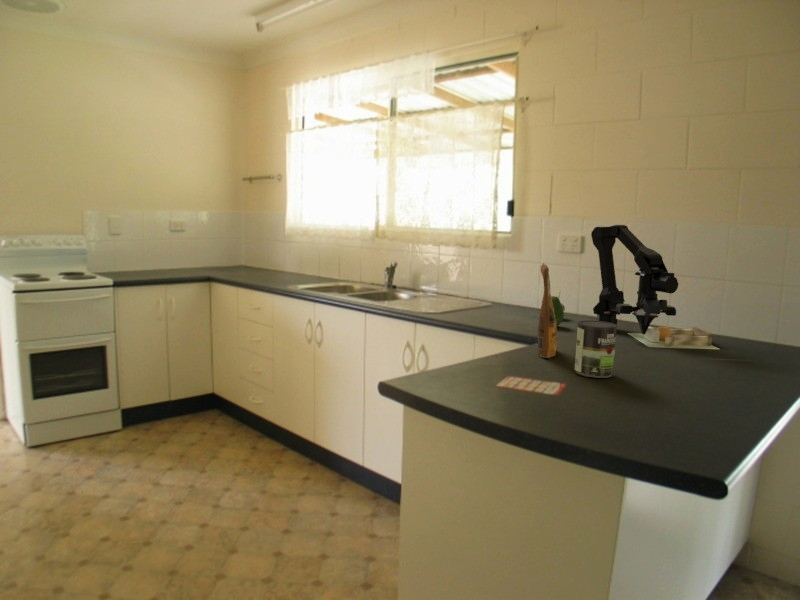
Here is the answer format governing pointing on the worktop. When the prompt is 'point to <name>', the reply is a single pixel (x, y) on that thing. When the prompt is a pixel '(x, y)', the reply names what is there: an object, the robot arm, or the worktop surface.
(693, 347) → the white flat square board
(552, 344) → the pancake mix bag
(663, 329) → the ball
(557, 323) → the fruit
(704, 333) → the wooden tray
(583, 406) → the worktop surface
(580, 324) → the coffee can
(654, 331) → the white block
